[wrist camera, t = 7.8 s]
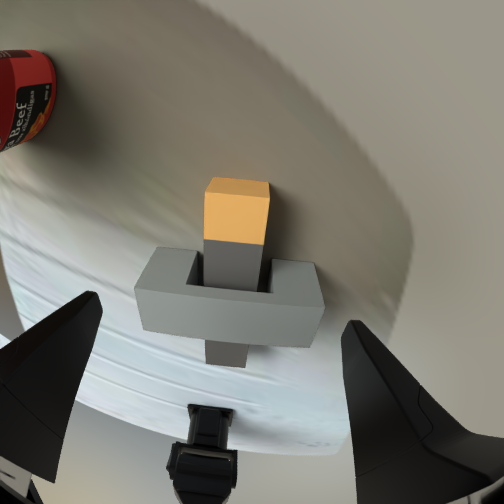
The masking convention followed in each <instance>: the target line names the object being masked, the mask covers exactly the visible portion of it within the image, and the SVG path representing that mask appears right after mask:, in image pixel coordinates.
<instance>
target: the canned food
mask: <svg viewBox="0 0 504 504" xmlns="http://www.w3.org/2000/svg"><path fill="white" fill-rule="evenodd" d="M55 95H56V74H55V70H54V66H53V64H52V62H51V60H50V59H49V58H48V57H47V56H46V55H44V54H42V53H41V52H39V51H36V50H4V51H0V152H3V151H5V150H7V149H9V148H11V147H14V146H16V145H19V144H21V143H23V142H26V141H28V140H30V139H31V138H32V137H33V136H35V135H36V134H37V133H38V132H39V131H40V130H41V129H42V128H43V127H44V125H45V124H46V122H47V120H48V119H49V117H50V114H51V111H52V109H53V105H54V101H55Z"/></svg>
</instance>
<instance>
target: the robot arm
mask: <svg viewBox="0 0 504 504" xmlns="http://www.w3.org/2000/svg"><path fill="white" fill-rule="evenodd" d="M102 313H103V309H102V306H101V302H100V299H99V296H98V294H97V293H96V292H93V291H85V292H84V293H82V294H81V295H79V296H78V297H76V298H74V299H73V300H71V301H70V302H68V303H67V304H65V305H64V306H62V307H61V308H59V309H58V310H56V311H55V312H53V313H52V314H50V315H49V316H47V317H46V318H44V319H43V320H41V321H40V322H38V323H37V324H35V325H34V326H33V327H31V328H30V329H28V330H27V331H25V332H24V333H23V334H21V335H20V336H19V337H17V338H16V339H14V340H13V341H11V342H10V343H8V344H7V345H6V346H4V347H3V348H1V349H0V504H43V502H42V500H41V498H40V496H39V494H38V492H37V490H36V488H35V485H34V483H33V481H32V479H31V476H32V474H34V475H36V476H38V477H40V478H43V479H45V480H47V481H49V482H52V483H55V479H56V474H57V468H58V463H59V459H60V454H61V449H62V445H63V439H64V436H65V432H66V428H67V425H68V421H69V417H70V414H71V411H72V407H73V404H74V401H75V397H76V394H77V391H78V388H79V385H80V382H81V379H82V376H83V373H84V370H85V368H86V365H87V362H88V359H89V357H90V354H91V351H92V348H93V345H94V342H95V338H96V334H97V331H98V327H99V324H100V320H101V317H102ZM341 348H342V365H343V379H344V386H345V393H346V399H347V406H348V413H349V421H350V428H351V436H352V444H353V455H354V465H355V476H356V491H357V504H504V438H498V437H492V436H486V435H480V434H475V433H472V432H470V431H468V430H467V429H465V428H464V427H463V426H462V425H461V424H460V423H459V422H457V420H455V419H454V418H453V417H452V416H451V415H450V414H449V413H448V412H447V411H446V410H445V409H444V408H442V406H441V405H440V404H438V403H437V402H436V401H435V400H434V398H433V397H432V396H431V395H430V394H429V393H428V392H427V391H426V390H425V389H424V388H423V387H422V386H421V385H420V383H419V382H418V381H417V380H416V379H415V378H414V377H413V376H412V374H411V373H410V372H409V371H408V370H407V369H406V368H405V367H404V366H403V365H402V364H401V363H400V361H399V360H398V359H397V358H396V357H395V356H394V355H393V354H392V353H391V352H390V351H389V350H388V349H387V347H386V346H385V345H384V344H383V343H382V342H381V341H380V340H379V339H378V338H377V337H376V336H375V335H374V334H373V333H372V332H371V331H370V330H369V328H368V327H367V326H366V325H365V324H364V323H363V322H362V321H360V320H350V321H349V322H348V323H347V326H346V328H345V330H344V332H343V334H342V337H341ZM187 408H188V412H189V417H190V427H189V433H188V439H187V444H186V443H180V442H178V441H177V442H176V443H174V444H172V450H171V454H170V457H169V460H168V463H167V466H166V469H167V471H168V472H169V475H170V479H171V480H173V487H174V492H175V495H176V497H177V499H178V501H179V503H180V504H226V502H227V501H228V499H229V496H230V493H231V488H234V489H235V487H236V482H237V450H227V441H228V429H229V427H230V426H231V423H232V415H233V410H231V409H223V408H214V407H206V406H199V405H192V404H188V407H187ZM181 453H182V454H181ZM229 460H230V461H229Z"/></svg>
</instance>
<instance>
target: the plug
mask: <svg viewBox="0 0 504 504" xmlns="http://www.w3.org/2000/svg"><path fill="white" fill-rule="evenodd" d="M269 201H270V194H269V183H268V182H262V181H253V180H242V179H232V178H220V177H213V178H212V180H211V182H210V184H209V186H208V188H207V189H206V191H205V209H204V287H212V288H221V289H230V290H240V291H251V292H257V286H258V279H259V272H260V265H261V258H262V251H263V244H264V237H265V230H266V223H267V216H268V209H269ZM248 347H249V344H241V343H231V342H222V341H213V340H205V355H206V364H211V365H220V366H230V367H240V368H245V366H246V360H247V353H248Z"/></svg>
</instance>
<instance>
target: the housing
mask: <svg viewBox="0 0 504 504" xmlns="http://www.w3.org/2000/svg"><path fill="white" fill-rule="evenodd" d="M134 291H135V296H136V300H137V305H138V309H139V314H140V318H141V322H142V326H143V330H146V331H151V332H157V333H163V334H169V335H176V336H182V337H189V338H197V339H205V340H213V341H222V342H231V343H241V344H253V345H266V346H282V347H303V348H310V346H311V344H312V341H313V339H314V336H315V334H316V331H317V328H318V326H319V323H320V321H321V318H322V315H323V313H324V310H325V305H324V301H323V297H322V293H321V289H320V285H319V282H318V278H317V274H316V270H315V267H314V263H312V262H302V261H291V260H281V259H272V261H271V267H270V273H269V279H268V285H267V290H266V293H261V292H251V291H240V290H230V289H221V288H212V287H203V286H198V270H197V251H192V250H182V249H173V248H163V247H157V248H156V250H155V251H154V253H153V255H152V257H151V258H150V260H149V262H148V264H147V265H146V267H145V269H144V271H143V272H142V274H141V276H140V278H139V280H138V281H137V283H136V285H135V287H134Z"/></svg>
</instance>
